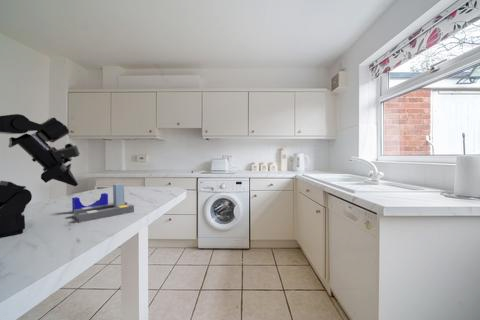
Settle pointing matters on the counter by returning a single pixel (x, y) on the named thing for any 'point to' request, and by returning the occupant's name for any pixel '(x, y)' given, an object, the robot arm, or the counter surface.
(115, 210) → the switch housing
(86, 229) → the counter surface
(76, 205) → the cable clip
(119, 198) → the tab
